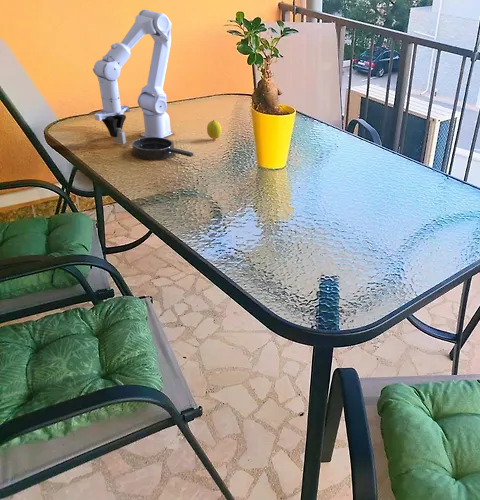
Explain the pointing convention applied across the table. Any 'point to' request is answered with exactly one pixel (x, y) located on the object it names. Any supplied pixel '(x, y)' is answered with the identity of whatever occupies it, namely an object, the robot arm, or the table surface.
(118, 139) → the lighter
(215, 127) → the lemon
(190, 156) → the pan handle
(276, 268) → the table surface
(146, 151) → the pan
